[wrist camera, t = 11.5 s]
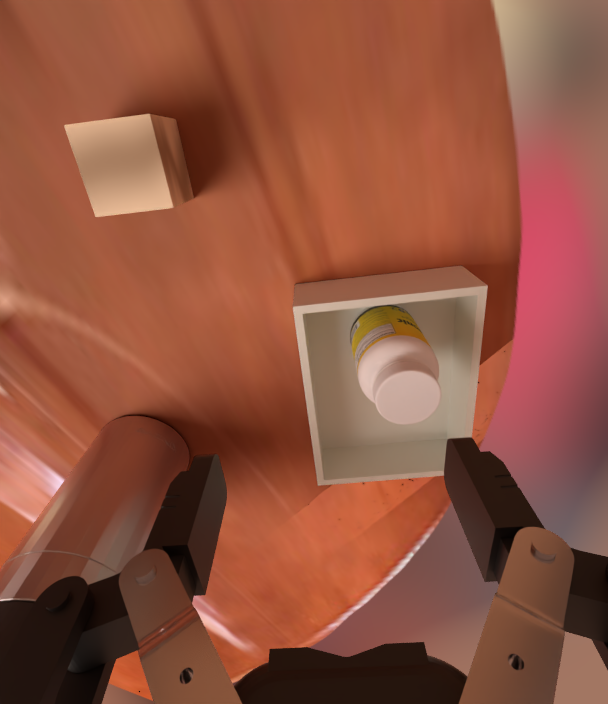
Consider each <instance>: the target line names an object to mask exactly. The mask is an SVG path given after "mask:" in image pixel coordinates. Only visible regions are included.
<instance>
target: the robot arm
mask: <svg viewBox="0 0 608 704" xmlns="http://www.w3.org/2000/svg"><path fill="white" fill-rule="evenodd" d="M189 459H190V456H189V450H188V447H187V445H186V443H185V441H184V440H183V438H182V437H181V436H180V435H179V434H178V433H177V432H176V431H175V430H174V429H173V428H171V427H170V426H168V425H167V424H165V423H163V422H160V421H158V420H156V419H152V418H149V417H143V416H126V417H122V418H118V419H115V420H113V421H111V422H109V423H108V424H107V425H106V426H105V427H104V428H103V429H102V430H101V432H100V433H99V435H98V436H97V437H96V439H95V440H94V441H93V443H92V444H91V445H90V447H89V448H88V450H87V451H86V452H85V454H84V455H83V456H82V457H81V459H80V460H79V462H78V463H77V464H76V466H75V467H74V468H73V470H72V471H71V473H70V474H69V475H68V477H67V478H66V480H65V481H64V482H63V484H62V485H61V486H60V488H59V489H58V491H57V492H56V493H55V495H54V496H53V497H52V499H51V500H50V502H49V503H48V504H47V506H46V507H45V508H44V510H43V511H42V513H41V514H40V515H39V517H38V518H37V520H36V521H35V522H34V524H33V525H32V526H31V528H30V529H29V531H28V532H27V533H26V535H25V536H24V537H23V539H22V540H21V542H20V543H19V544H18V546H17V547H16V548H15V550H14V551H13V553H12V554H11V555H10V557H9V558H8V560H7V561H6V562H5V564H4V565H3V566H2V568H1V570H0V704H101V703H102V701H103V698H104V694H105V691H106V688H107V685H108V682H109V679H110V676H111V673H112V670H113V667H114V664H115V661H116V659H117V658H120V657H122V656H124V655H127V654H129V653H132V652H134V651H137V650H138V654H139V657H140V661H141V664H142V667H143V670H144V673H145V676H146V680H147V683H148V686H149V689H150V692H151V695H152V698H153V701H154V704H553V702H554V697H555V691H556V685H557V679H558V672H559V667H560V661H561V655H562V648H563V642H564V636H565V631H566V632H569V633H573V634H577V635H580V636H583V637H587V638H590V639H592V641H593V643H594V645H595V647H596V649H597V650H598V652H599V654H600V656H601V658H602V660H603V662H604V664H605V666H606V668H607V670H608V557H606V556H601V555H597V554H592V553H588V552H583V551H579V550H576V549H573V548H570V547H569V546H568V544H567V543H566V542H565V541H564V540H563V539H562V538H560V537H559V536H558V535H556V534H554V533H553V532H551V531H548V530H546V529H545V528H544V526H543V525H542V523H541V522H540V520H539V519H538V517H537V516H536V514H535V512H534V511H533V509H532V508H531V506H530V504H529V503H528V501H527V500H526V498H525V496H524V495H523V493H522V492H521V490H520V488H518V487H517V484H516V482H515V481H514V479H513V478H512V477H511V474H510V472H509V471H508V469H507V468H506V466H505V465H504V463H503V462H502V461H501V460H500V459H498V458H497V457H496V456H495V455H494V454H492V453H491V452H490V451H489V452H480V450H479V448H478V447H477V445H476V443H475V441H474V440H473V439H472V438H471V437H464V438H450V439H448V440H447V445H446V455H445V465H444V480H445V485H446V488H447V491H448V494H449V496H450V498H451V501H452V503H453V506H454V508H455V511H456V513H457V515H458V518H459V520H460V523H461V525H462V528H463V530H464V532H465V535H466V537H467V540H468V542H469V544H470V546H471V549H472V552H473V554H474V556H475V559H476V561H477V564H478V566H479V569H480V571H481V573H482V576H483V578H484V581H485V582H490V581H498V584H499V587H498V590H497V593H495V595H494V598H493V601H492V604H491V607H490V610H489V613H488V616H487V620H486V622H485V625H484V628H483V631H482V634H481V637H480V641H479V644H478V647H477V650H476V653H475V656H474V659H473V662H472V665H471V668H470V671H469V674H468V677H467V676H466V675H465V674H464V673H462V672H461V671H459V670H458V669H456V668H455V667H454V666H452V665H450V664H448V663H446V662H445V661H442V660H440V659H437V658H435V657H431V656H428V655H427V653H426V649H425V645H424V642H416V643H395V644H394V643H393V644H384V645H381V646H378V647H375V648H373V649H370V650H367V651H365V652H362V653H359V654H357V655H353V656H351V657H342V656H338V655H334V654H331V653H327V652H323V651H319V650H315V649H311V648H308V647H304V648H282V649H270V653H269V662H268V663H265V664H263V665H261V666H259V667H257V668H255V669H253V670H252V671H251V672H249V673H248V674H246V675H245V676H244V677H243V678H242V679H241V680H239V681H238V682H237V683H236V685H235V686H233V684H232V682H231V680H230V678H229V676H228V674H227V672H226V670H225V667H224V665H223V663H222V661H221V659H220V657H219V655H218V653H217V651H216V649H215V647H214V645H213V643H212V641H211V639H210V637H209V635H208V633H207V631H206V629H205V627H204V625H203V623H202V621H201V619H200V616H199V614H198V613H197V611H196V609H195V608H194V607H193V605H192V601H193V597H194V596H196V595H205V594H206V590H207V585H208V581H209V576H210V572H211V567H212V563H213V559H214V554H215V550H216V545H217V541H218V536H219V532H220V528H221V523H222V519H223V514H224V510H225V506H226V500H227V488H226V483H225V479H224V475H223V471H222V467H221V463H220V460H219V456H218V455H217V454H209V455H196V456H195V457H194V459H193V462H192V465H191V467H190V470H189V471H186V470H187V467H188V465H189Z"/></svg>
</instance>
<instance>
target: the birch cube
mask: <svg viewBox="0 0 608 704" xmlns="http://www.w3.org/2000/svg"><path fill="white" fill-rule="evenodd" d="M64 127H65V130H66V133H67V136H68V139H69V141H70V144H71V147H72V150H73V153H74V156H75V159H76V162H77V165H78V167H79V170H80V173H81V176H82V179H83V182H84V185H85V188H86V191H87V193H88V196H89V199H90V202H91V205H92V208H93V211H94V214H95V217H100V216H109V215H117V214H126V213H134V212H143V211H151V210H159V209H168V208H174V207H176V206H178V205H181V204H183V203H185V202H187V201H189V200H191V199H194V196H193V191H192V187H191V183H190V178H189V174H188V170H187V165H186V161H185V156H184V152H183V148H182V143H181V139H180V134H179V130H178V126H177V121H176V119H173V118H168V117H163V116H158V115H153V114H144V115H136V116H129V117H122V118H114V119H107V120H99V121H92V122H84V123H77V124H69V125H64Z"/></svg>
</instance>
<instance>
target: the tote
mask: <svg viewBox="0 0 608 704" xmlns="http://www.w3.org/2000/svg"><path fill="white" fill-rule="evenodd" d="M487 289H488V285H486V284H485V283H484V282H483V281H481V280H480V279H479V278H477V277H476V276H475V275H473V274H472V273H471V272H470V271H468V270H467V269H466V268H464V267H463V266H462V265H461V266H452V267H443V268H434V269H425V270H416V271H407V272H398V273H389V274H380V275H372V276H363V277H354V278H345V279H336V280H327V281H318V282H309V283H300V284H295V287H294V299H293V312H294V319H295V326H296V333H297V340H298V348H299V355H300V362H301V369H302V376H303V383H304V390H305V397H306V405H307V412H308V419H309V426H310V433H311V440H312V447H313V454H314V461H315V469H316V476H317V483H318V486H319V485H332V484H344V483H357V482H369V481H382V480H394V479H407V478H419V477H432V476H444V465H445V455H446V445H447V440H448V439H450V438H464V437H471V438H472V430H473V421H474V411H475V402H476V392H477V383H478V374H479V364H480V355H481V345H482V336H483V326H484V317H485V308H486V298H487ZM390 304H396V305H398V306H400V307H402V308H404V309H405V310H406V311H408V313H409V314H410V315H411V316H412V318H413V319H414V321H415V322H416V324H417V325H418V327H419V329H420V330H421V332H422V333H423V335H424V337H425V338H426V340H427V342H428V343H429V345H430V347H431V348H432V350H433V352H434V353H435V356H436V358H437V360H438V364H439V377H438V383H439V385H440V388H441V400H440V404H439V406H438V408H437V409H436V410H435V412H434V413H433V414H432V415H431V416H429V417H428V418H426V419H425V420H423V421H421V422H418V423H414V424H407V425H403V424H396V423H393V422H390V421H388V420H387V419H385V418H384V417H383V416H382V415H381V414H380V413H379V411H378V410H377V407H376V404H375V403H374V402H372V401H371V400H370V399H369V398H368V397H367V396H366V395H365V394H364V392H363V391H362V389H361V387H360V384H359V380H358V375H357V371H356V366H355V361H354V356H353V352H352V348H351V343H350V329H351V326H352V323H353V321H354V320H355V318H356V317H357V316H358V314H359V313H361V312H362V311H363V310H364V309H366V308H368V307H371V306H380V305H390Z"/></svg>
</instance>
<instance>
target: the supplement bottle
mask: <svg viewBox="0 0 608 704" xmlns="http://www.w3.org/2000/svg"><path fill="white" fill-rule="evenodd" d="M350 343H351V348H352V352H353V356H354V361H355V366H356V371H357V375H358V380H359V384H360V387H361V389H362V391H363V392H364V394H365V395H366V396H367V397H368V398H369V399H370V400H371V401H372V402H374V403H375V404H376V407H377V410H378V411H379V413H380V414H381V415H382V416H383V417H384V418H385V419H387V420H388V421H390V422H393V423H396V424H403V425H407V424H414V423H418V422H421V421H423V420H425V419H426V418H428V417H429V416H431V415H432V414H433V413H434V412H435V410H436V409H437V408H438V406H439V404H440V400H441V388H440V385H439V383H438V377H439V364H438V360H437V358H436V356H435V353H434V352H433V350H432V348H431V347H430V345H429V343H428V342H427V340H426V338H425V337H424V335H423V333H422V332H421V330H420V329H419V327H418V325H417V324H416V322H415V321H414V319H413V318H412V316H411V315H410V314H409V313H408V311H406V310H405V309H404V308H402V307H400V306H398V305H396V304H390V305H380V306H371V307H368V308H366V309H364V310H363V311H362V312H361V313H359V314H358V316H357V317H356V318H355V320H354V321H353V323H352V326H351V329H350Z"/></svg>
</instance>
